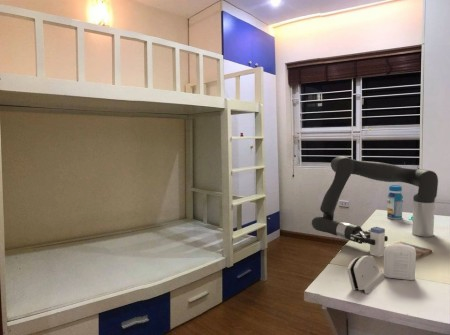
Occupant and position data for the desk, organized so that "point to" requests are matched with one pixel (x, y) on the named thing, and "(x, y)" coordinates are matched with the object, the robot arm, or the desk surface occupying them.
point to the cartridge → (377, 241)
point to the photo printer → (399, 261)
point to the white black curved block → (364, 273)
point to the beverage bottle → (395, 202)
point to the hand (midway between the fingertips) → (381, 240)
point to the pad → (417, 250)
